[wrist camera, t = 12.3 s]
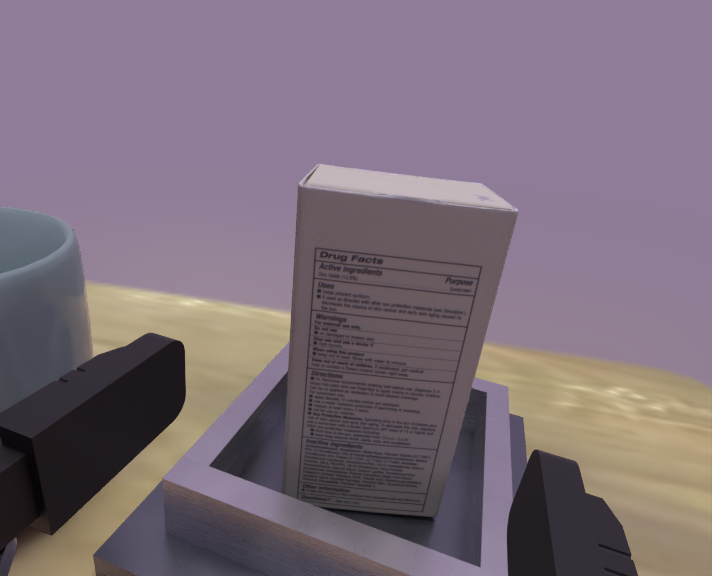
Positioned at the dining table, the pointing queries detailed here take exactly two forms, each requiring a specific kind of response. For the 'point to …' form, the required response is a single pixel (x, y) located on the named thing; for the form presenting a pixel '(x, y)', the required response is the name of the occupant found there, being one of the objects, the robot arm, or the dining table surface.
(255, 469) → the tray
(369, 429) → the skincare box
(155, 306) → the dining table surface
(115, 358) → the robot arm
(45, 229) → the cup
